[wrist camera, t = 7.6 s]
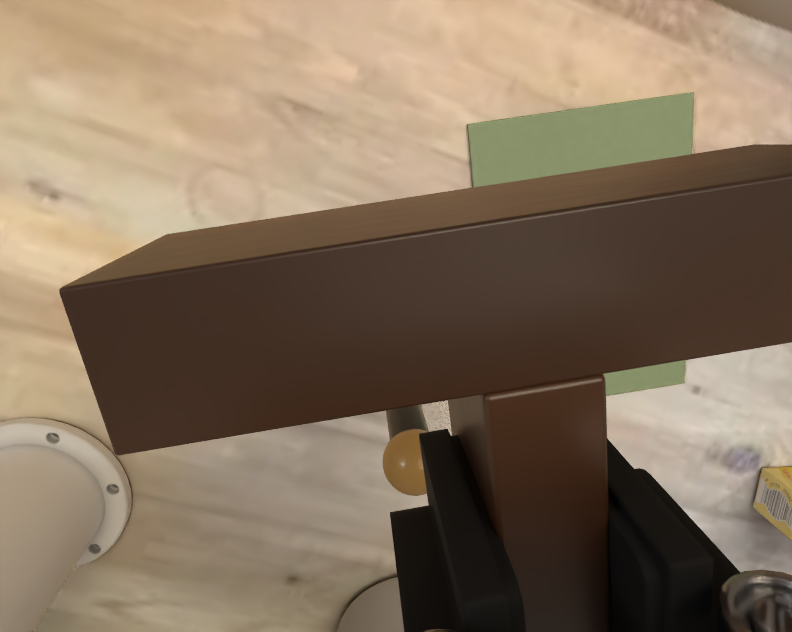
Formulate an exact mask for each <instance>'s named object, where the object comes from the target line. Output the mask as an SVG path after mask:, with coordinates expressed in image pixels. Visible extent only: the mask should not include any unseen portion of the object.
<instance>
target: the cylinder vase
mask: <svg viewBox="0 0 792 632" xmlns="http://www.w3.org/2000/svg"><path fill="white" fill-rule="evenodd" d="M337 632H404V626H403V618H402V609H401V601H400V593H399V584H398V577H395V578H391V579H388V580H385V581H383V582H380V583H378V584H376V585H374V586H372V587H370V588H369V589H367V590H366V591H364V592H363V593H362V594H360V595H359V596H358V597H357V598H356V599H355V600H354V601H353V602H352V603H351V604H350V606H349V607H348V608H347V610H346V611H345V613H344V615H343V617H342V619H341V621H340V624H339V627H338V631H337Z"/></svg>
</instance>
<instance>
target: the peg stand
mask: <svg viewBox="0 0 792 632" xmlns="http://www.w3.org/2000/svg"><path fill="white" fill-rule="evenodd" d="M386 416H387V423H388V430H389V437H390V442H389V443H388V445H387V446H386V448H385V451H384V455H383V469H384V473H385V476H386V478H387V480H388V481H389V483H390V484H391V485H392V486H393V487H394V488H395V489H397V490H398V491H399V492H401V493H404V494H407V495H412V496H418V495H424V494H427V490H426V483H425V476H424V469H423V462H422V455H421V448H420V441H419V434H420V433H426V432H429V431H428V428H427V424H426V420H425V417H424V413H423V410H422V406H421V405H415V406H409V407H403V408H397V409H391V410H386Z"/></svg>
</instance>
